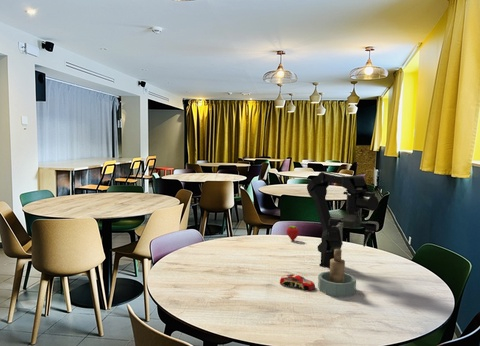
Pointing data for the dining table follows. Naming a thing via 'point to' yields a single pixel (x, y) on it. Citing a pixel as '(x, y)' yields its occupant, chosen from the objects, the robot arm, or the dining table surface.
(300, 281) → the race car
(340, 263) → the walnut bottle
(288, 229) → the strawberry
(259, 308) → the dining table surface
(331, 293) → the bowl
